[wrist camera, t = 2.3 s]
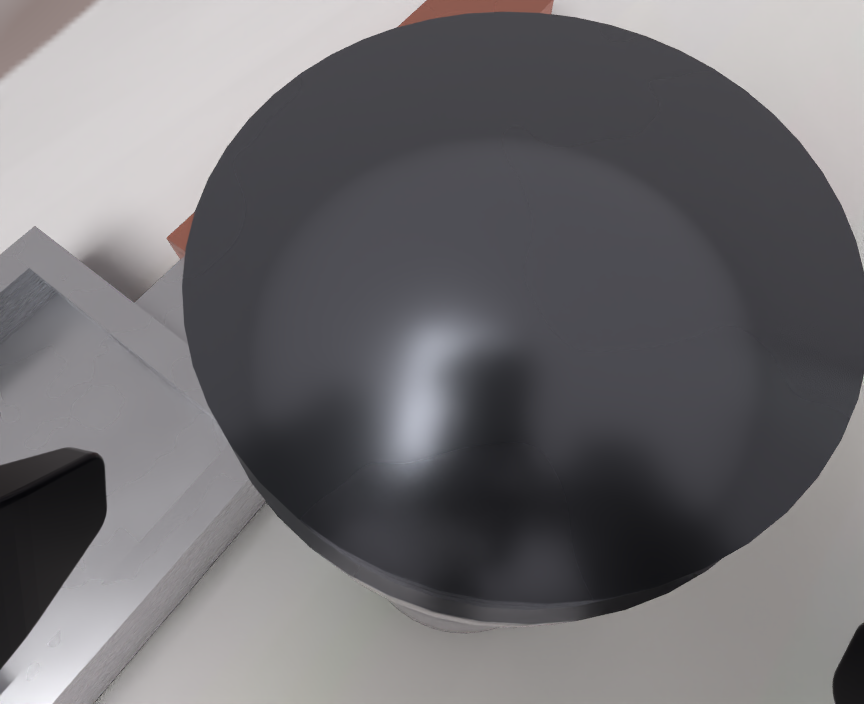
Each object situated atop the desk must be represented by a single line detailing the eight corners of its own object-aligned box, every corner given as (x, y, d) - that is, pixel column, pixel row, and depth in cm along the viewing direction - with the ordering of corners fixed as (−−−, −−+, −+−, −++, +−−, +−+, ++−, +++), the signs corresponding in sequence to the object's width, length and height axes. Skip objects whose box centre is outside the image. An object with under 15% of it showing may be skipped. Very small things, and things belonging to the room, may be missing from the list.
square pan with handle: (17, 792, 15) (-46, 814, 13) (-222, 522, 17) (-305, 507, 15) (620, 85, 23) (636, 36, 22) (403, -25, 26) (400, -79, 24)
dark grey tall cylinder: (488, 689, 16) (658, 839, 4) (310, 542, 17) (17, 305, 5) (610, 499, 17) (984, 188, 6) (440, 380, 19) (447, -69, 7)
